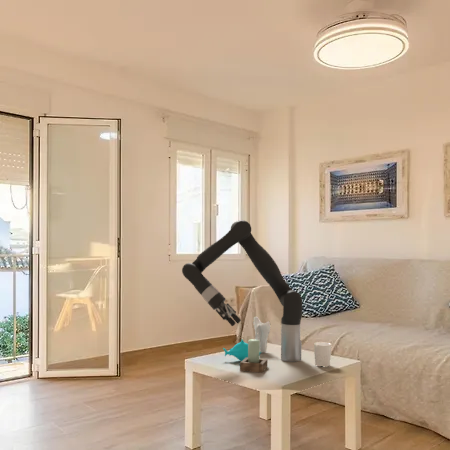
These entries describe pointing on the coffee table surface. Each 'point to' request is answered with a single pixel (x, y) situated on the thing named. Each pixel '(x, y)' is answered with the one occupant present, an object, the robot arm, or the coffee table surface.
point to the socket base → (253, 365)
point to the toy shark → (239, 350)
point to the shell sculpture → (261, 333)
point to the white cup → (322, 353)
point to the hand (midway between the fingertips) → (236, 323)
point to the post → (253, 351)
